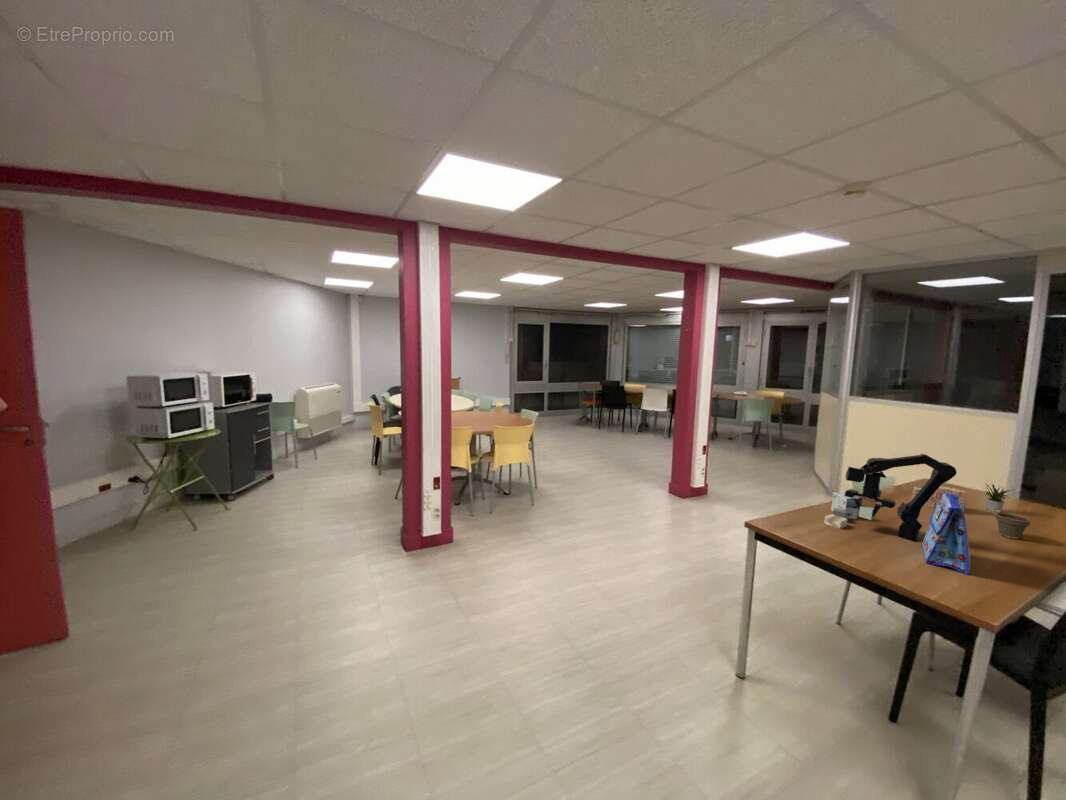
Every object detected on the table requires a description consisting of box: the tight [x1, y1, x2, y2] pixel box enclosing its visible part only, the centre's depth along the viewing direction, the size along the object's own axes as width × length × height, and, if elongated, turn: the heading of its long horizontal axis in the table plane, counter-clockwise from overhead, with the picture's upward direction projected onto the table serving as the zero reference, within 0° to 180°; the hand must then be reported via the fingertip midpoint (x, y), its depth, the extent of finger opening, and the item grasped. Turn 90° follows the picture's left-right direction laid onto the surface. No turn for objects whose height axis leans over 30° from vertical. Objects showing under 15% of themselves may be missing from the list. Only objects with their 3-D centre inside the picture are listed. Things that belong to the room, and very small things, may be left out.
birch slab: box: [823, 513, 849, 530], centre depth 211 cm, size 7×7×4 cm
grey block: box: [832, 508, 846, 518], centre depth 219 cm, size 5×5×5 cm
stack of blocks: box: [911, 485, 968, 513], centre depth 244 cm, size 21×6×12 cm, turn 57°
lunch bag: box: [921, 493, 971, 575], centre depth 178 cm, size 22×14×29 cm, turn 141°
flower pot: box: [994, 512, 1031, 539], centre depth 208 cm, size 12×11×10 cm
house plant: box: [983, 483, 1017, 511], centre depth 244 cm, size 14×14×16 cm
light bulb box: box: [830, 491, 859, 520], centre depth 225 cm, size 11×7×11 cm, turn 179°
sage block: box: [858, 504, 876, 521], centre depth 207 cm, size 5×5×5 cm
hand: (866, 515), depth 207 cm, fingers closed on sage block, 5 cm apart
